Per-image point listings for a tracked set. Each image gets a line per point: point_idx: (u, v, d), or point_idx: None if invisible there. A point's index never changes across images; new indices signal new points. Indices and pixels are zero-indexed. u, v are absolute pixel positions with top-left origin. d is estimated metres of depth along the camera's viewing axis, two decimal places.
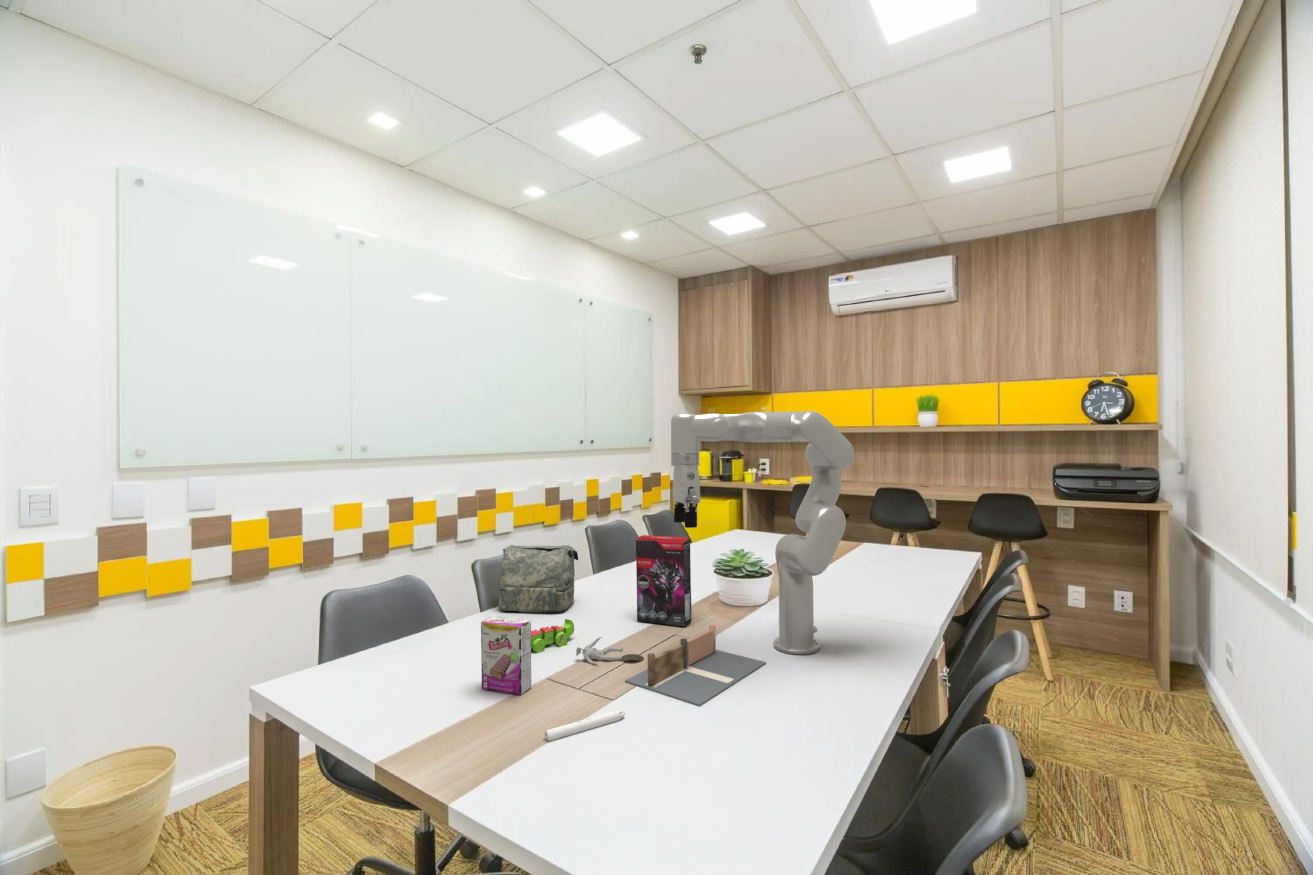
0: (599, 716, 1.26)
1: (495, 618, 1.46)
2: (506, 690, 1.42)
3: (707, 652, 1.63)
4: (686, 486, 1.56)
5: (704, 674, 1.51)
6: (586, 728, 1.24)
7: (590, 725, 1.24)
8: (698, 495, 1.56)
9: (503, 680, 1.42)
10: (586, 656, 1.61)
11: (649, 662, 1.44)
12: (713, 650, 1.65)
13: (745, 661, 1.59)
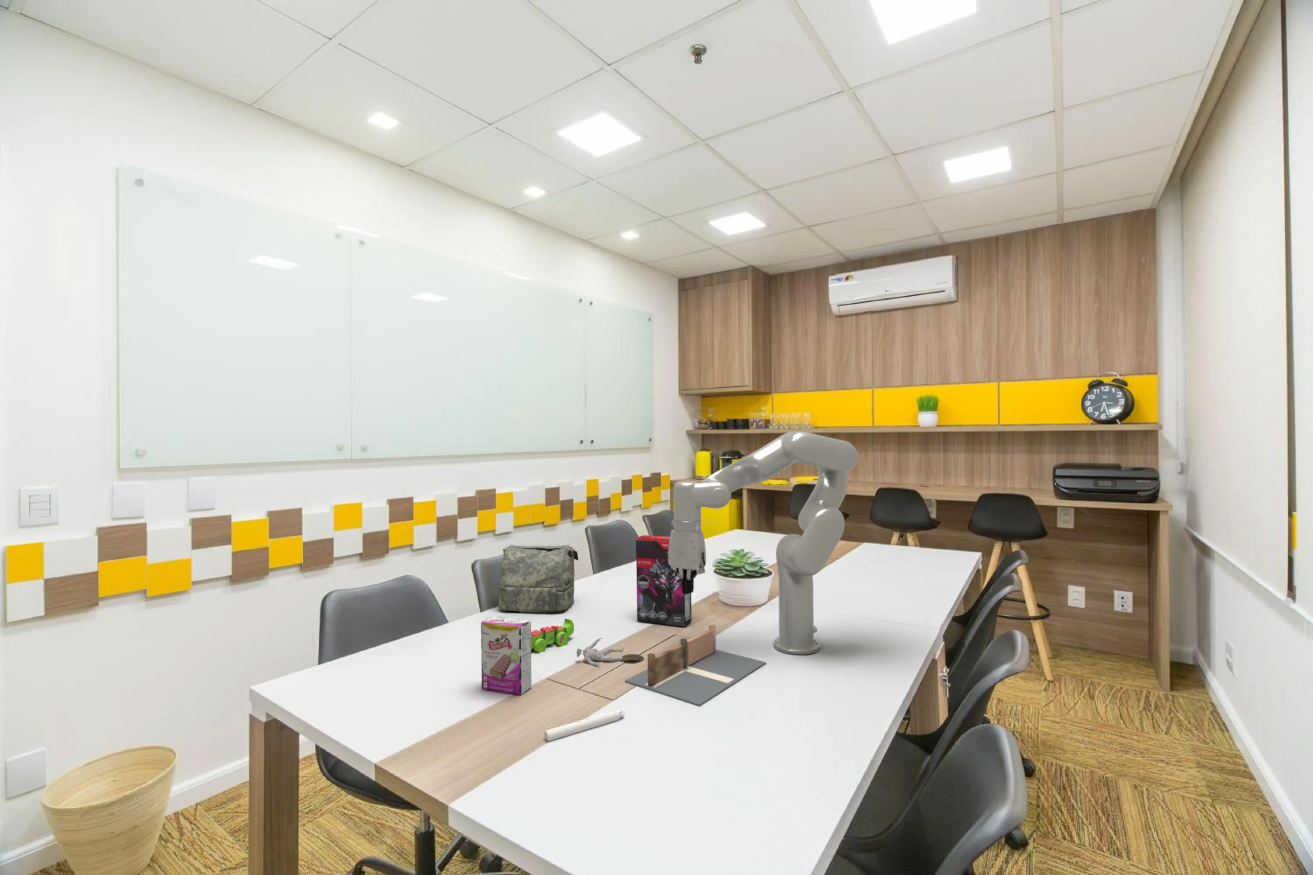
0: (598, 715, 1.26)
1: (495, 618, 1.46)
2: (506, 690, 1.42)
3: (707, 652, 1.63)
4: None
5: (704, 674, 1.51)
6: (585, 728, 1.24)
7: (590, 725, 1.24)
8: None
9: (503, 680, 1.42)
10: (587, 657, 1.60)
11: (649, 662, 1.44)
12: (713, 650, 1.65)
13: (745, 661, 1.59)
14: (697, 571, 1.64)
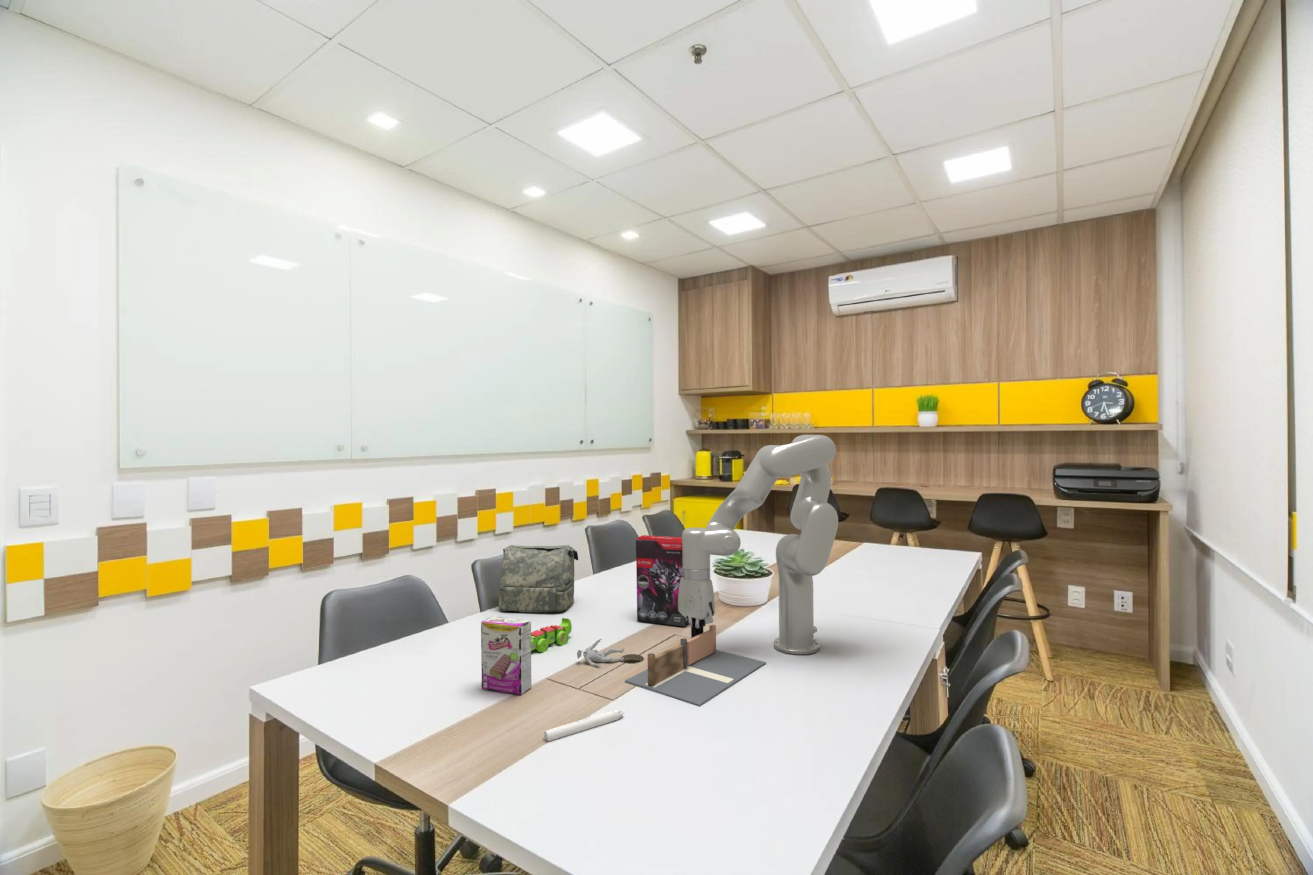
0: (598, 715, 1.26)
1: (495, 618, 1.46)
2: (506, 690, 1.42)
3: (707, 652, 1.63)
4: None
5: (704, 674, 1.51)
6: (585, 727, 1.24)
7: (589, 725, 1.24)
8: None
9: (503, 680, 1.42)
10: (588, 658, 1.59)
11: (649, 662, 1.44)
12: (713, 650, 1.65)
13: (745, 661, 1.59)
14: (705, 620, 1.62)
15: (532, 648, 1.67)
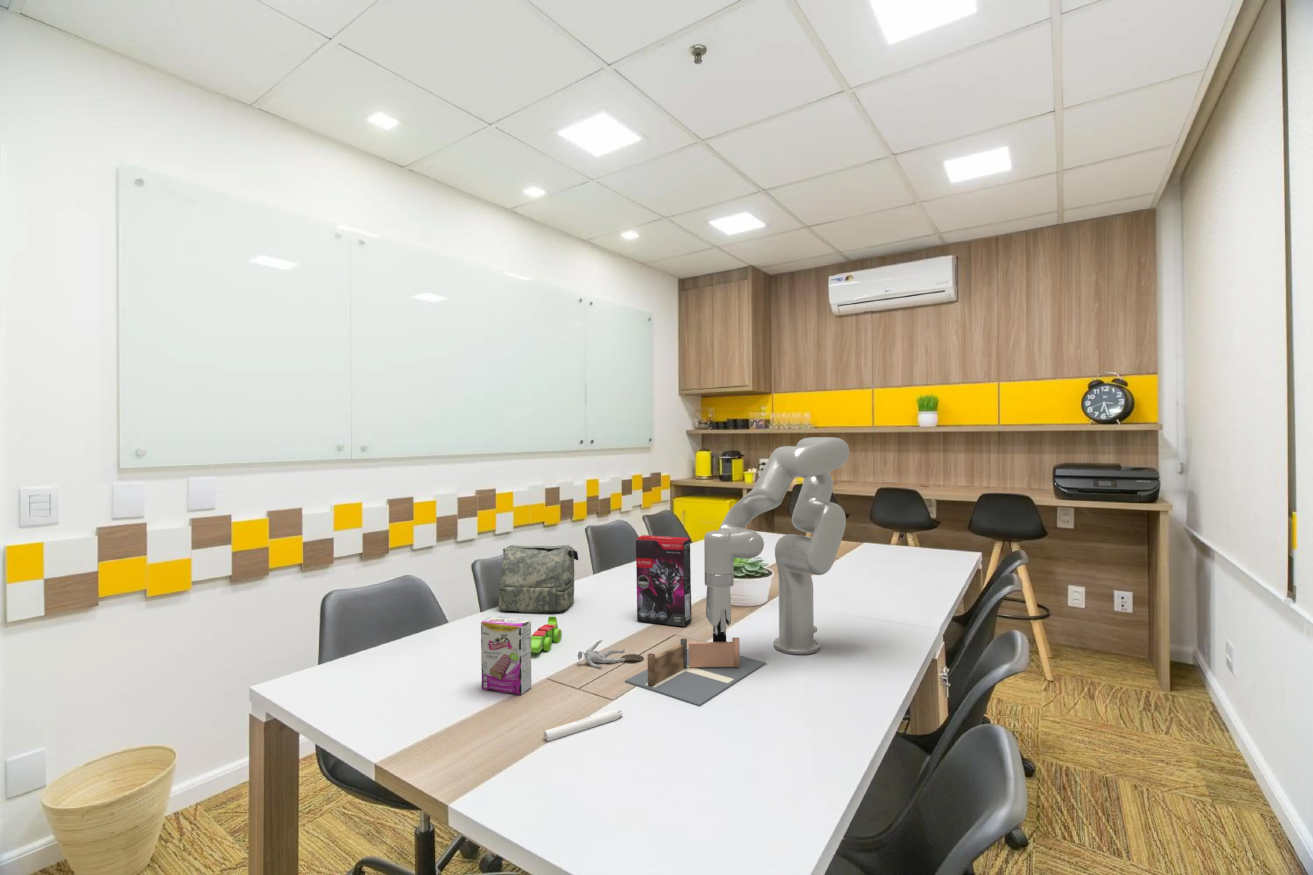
0: (597, 715, 1.26)
1: (495, 618, 1.46)
2: (506, 690, 1.42)
3: (723, 663, 1.55)
4: None
5: (704, 674, 1.51)
6: (584, 727, 1.24)
7: (589, 724, 1.24)
8: None
9: (503, 680, 1.42)
10: (589, 660, 1.58)
11: (649, 662, 1.44)
12: (734, 664, 1.55)
13: (745, 661, 1.59)
14: (720, 628, 1.54)
15: (541, 648, 1.67)
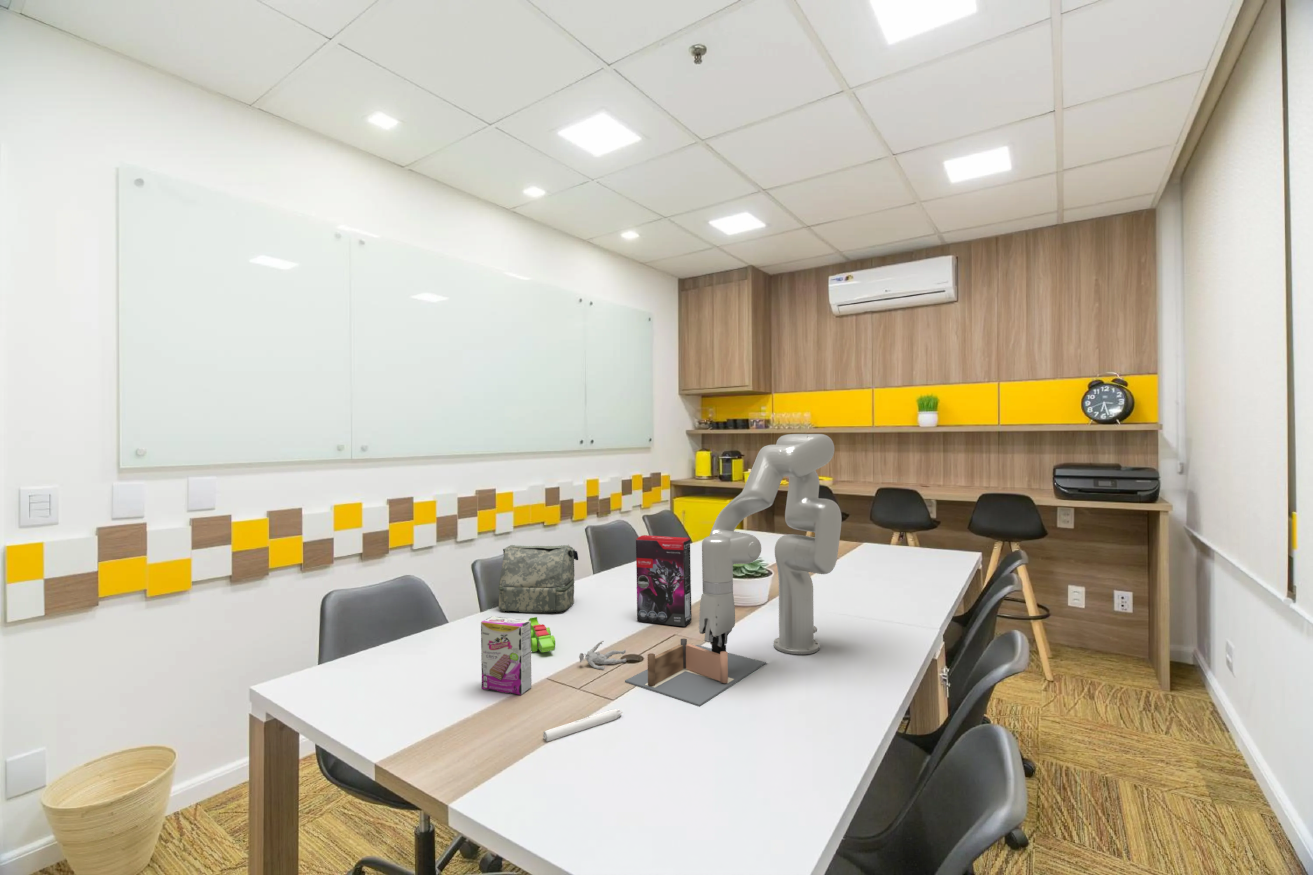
0: (596, 715, 1.27)
1: (495, 618, 1.46)
2: (506, 690, 1.42)
3: (712, 674, 1.48)
4: None
5: None
6: (584, 727, 1.24)
7: (588, 724, 1.24)
8: None
9: (503, 680, 1.42)
10: (591, 661, 1.57)
11: (649, 662, 1.44)
12: (720, 679, 1.45)
13: (745, 661, 1.59)
14: None
15: None
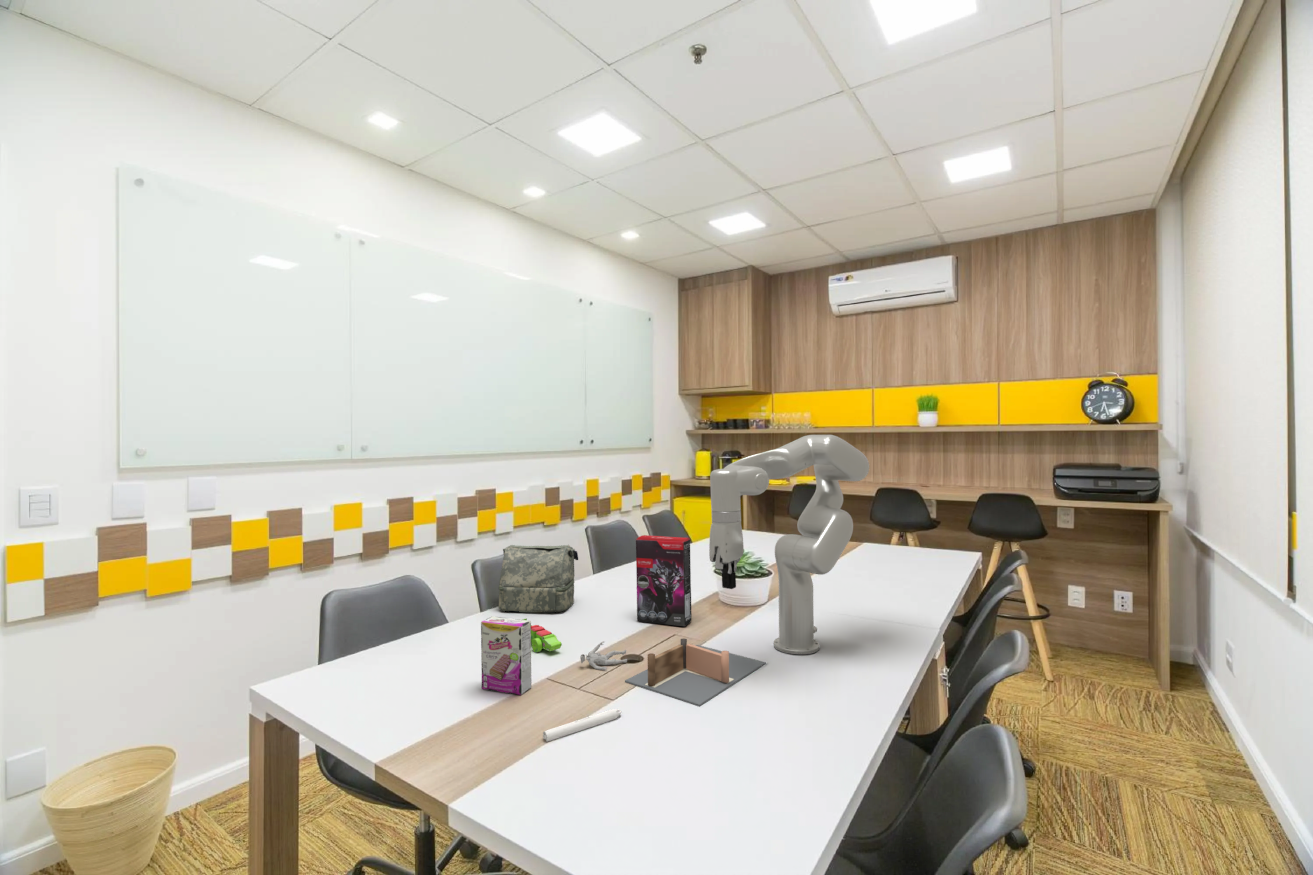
0: (596, 715, 1.27)
1: (495, 618, 1.46)
2: (506, 690, 1.42)
3: (713, 674, 1.48)
4: None
5: None
6: (583, 727, 1.24)
7: (588, 724, 1.25)
8: None
9: (503, 680, 1.42)
10: (592, 662, 1.56)
11: (649, 662, 1.44)
12: (721, 678, 1.46)
13: (745, 661, 1.59)
14: None
15: None
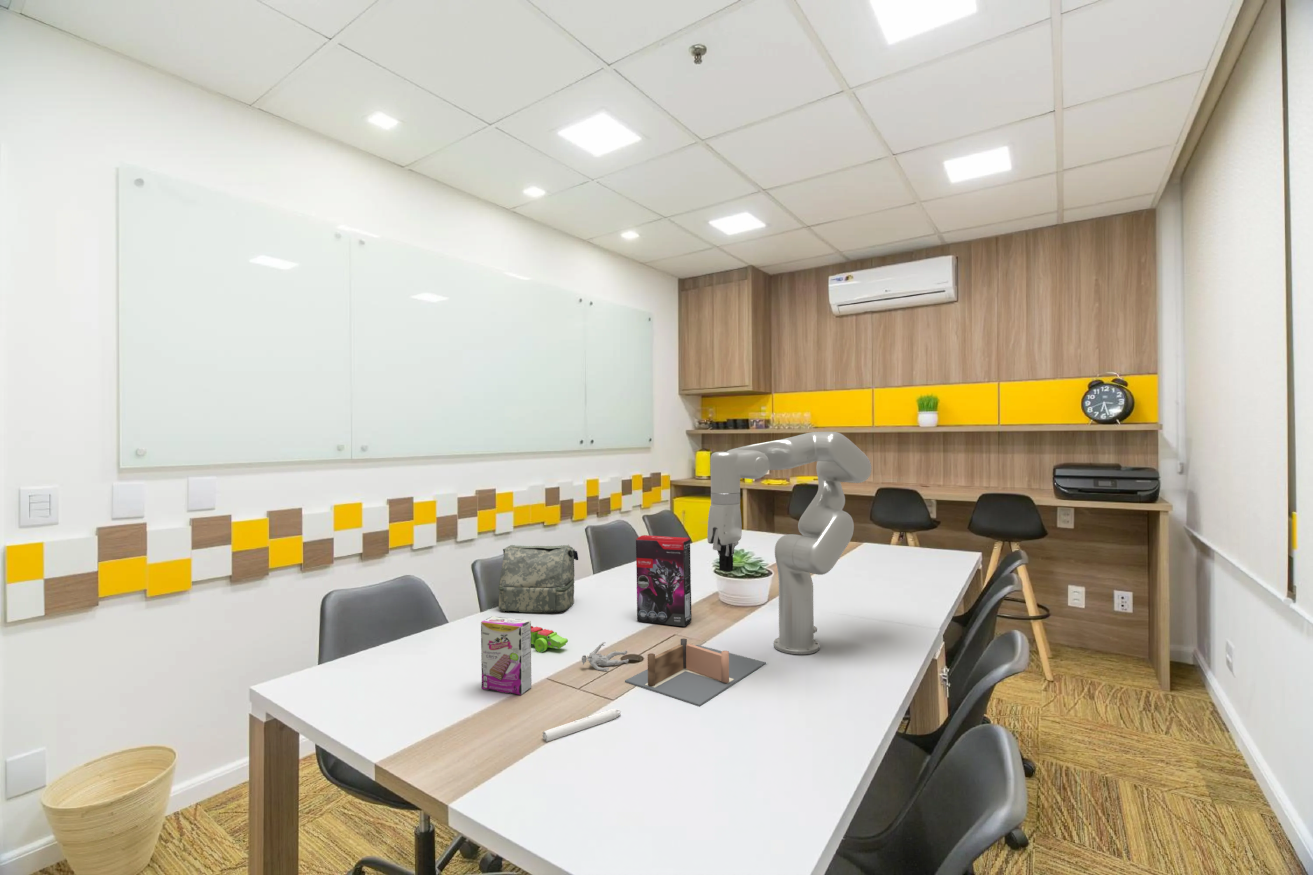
0: (595, 715, 1.27)
1: (495, 618, 1.46)
2: (506, 690, 1.42)
3: (713, 674, 1.48)
4: None
5: None
6: (583, 727, 1.24)
7: (587, 724, 1.25)
8: None
9: (503, 680, 1.42)
10: (593, 663, 1.56)
11: (649, 662, 1.44)
12: (721, 678, 1.46)
13: (745, 661, 1.59)
14: None
15: None
